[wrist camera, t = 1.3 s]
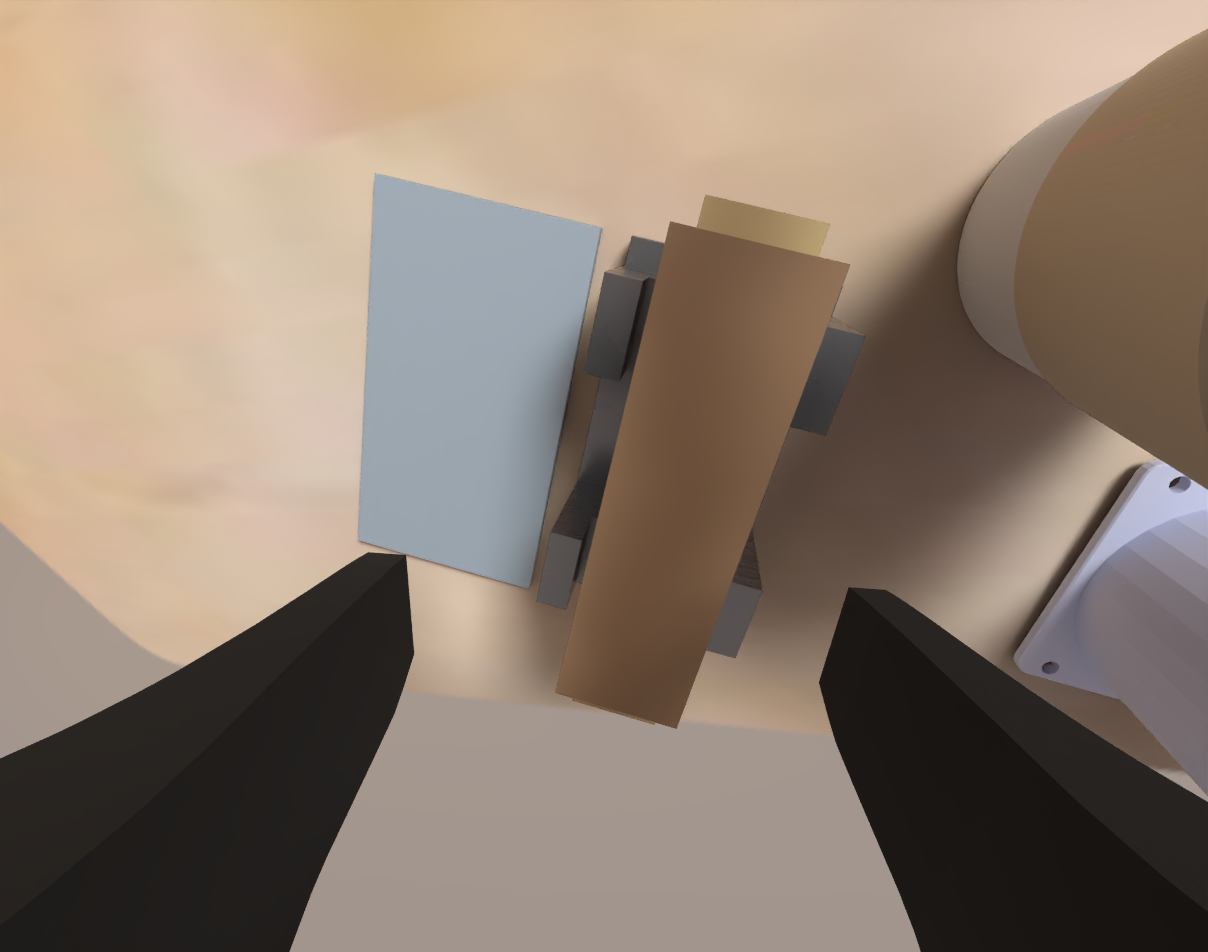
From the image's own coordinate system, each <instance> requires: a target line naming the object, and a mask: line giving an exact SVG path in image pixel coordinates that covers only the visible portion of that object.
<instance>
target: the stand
mask: <svg viewBox="0 0 1208 952" xmlns="http://www.w3.org/2000/svg"><path fill="white" fill-rule="evenodd" d="M664 245H665V243H662V242H658V241H653V240H649V239H645V238H641V237H637V236H632V237H631V242H630V246H629V251H628V256H627V260H626V265H625V266H622V267H618V268H615V269H612V270H609V271H605V272H604V277H603V282H602V287H601V292H600V297H599V301H598V306H597V311H596V316H595V321H594V326H593V330H592V335H591V340H590V345H589V350H588V355H587V359H586V364H585V369H584V373H586V374H590V375H593V376H597V377H601V378H600V383H599V387H598V392H597V396H596V401H595V405H594V410H593V414H592V419H591V423H590V428H589V432H588V437H587V442H586V446H585V451H584V455H583V460H582V464H581V469H580V473H579V478H578V482H577V483H576V485H575V487H574V489H573V491H572V493H571V495H570V497H569V499H568V500H567V502H566V504H565V506H564V508H563V510H562V512H561V514H560V516H559V517H558V519H557V521H556V523H555V525H554V527H553V529H552V531H551V533H550V538H549V543H548V548H547V553H546V557H545V562H544V567H543V572H542V577H541V582H540V586H539V591H538V596H537V602H541V603H544V604H548V605H551V606H555V607H558V608H562V609H565V610H566V607H567V605H568V602H569V599H570V597H571V594H572V592H573V589H574V586H575V584H576V582H579V583H582V581H583V577H584V573H585V569H586V565H587V561H588V557H589V552H590V548H591V544H592V540H593V536H594V532H595V528H596V524H597V520H598V516H599V511H600V507H601V503H602V499H603V495H604V491H605V487H606V483H607V479H608V475H609V470H610V466H611V462H612V458H613V454H614V450H615V446H616V442H617V438H618V434H619V429H620V425H621V421H622V417H623V413H624V409H625V405H626V401H627V397H628V393H629V388H630V384H631V380H632V376H633V372H634V368H635V364H636V360H637V356H638V351H639V347H640V343H641V339H642V335H643V331H644V327H645V323H646V319H647V315H648V310H649V306H650V302H651V298H652V294H653V290H654V286H655V282H656V278H657V274H658V269H659V265H660V261H661V257H662V253H663V249H664ZM841 290H842V288H841ZM840 293H841V291H840ZM839 295H840V294H839ZM838 298H839V296H838ZM837 301H838V299H837ZM836 303H837V302H836ZM835 306H836V304H835ZM834 309H835V307H834ZM833 311H834V310H833ZM832 314H833V312H832ZM865 337H866V336H865V335H863V334H861V333H859V332H858V331H856V330H854V329H853V328H851V327H849V326H848V325H846V324H844V323H843V322H841V321H839V320H838V319H836V318H834V317H833V316H832V315H831V318H830V320H829V323H828V326H827V328H826V331H825V334H824V336H823V339H822V342H821V344H820V347H819V350H818V352H817V355H816V358H815V360H814V363H813V366H812V368H811V371H810V374H809V376H808V379H807V382H806V384H805V387H804V390H803V392H802V395H801V398H800V400H799V403H798V406H797V408H796V411H795V414H794V416H793V419H792V422H791V424H790V427H794V428H798V429H802V430H806V431H810V432H813V433H817V434H821V435H826V433H827V430H828V428H829V426H830V423H831V421H832V418H833V416H834V413H835V411H836V408H837V406H838V403H839V401H840V398H841V396H842V393H843V391H844V388H845V386H846V384H847V381H848V379H849V376H850V374H851V371H852V369H853V366H854V364H855V361H856V359H857V356H858V354H859V351H860V349H861V347H862V344H863V342H864V339H865ZM790 427H789V429H790ZM788 431H789V430H788ZM787 434H788V432H787ZM786 437H787V435H786ZM785 439H786V438H785ZM784 442H785V440H784ZM783 445H784V443H783ZM782 447H783V446H782ZM781 450H782V448H781ZM780 453H781V451H780ZM779 455H780V454H779ZM778 458H779V456H778ZM777 461H778V459H777ZM776 463H777V462H776ZM775 466H776V464H775ZM774 469H775V467H774ZM773 471H774V470H773ZM772 474H773V472H772ZM771 477H772V475H771ZM770 479H771V478H770ZM769 482H770V480H769ZM768 485H769V483H768ZM767 487H768V486H767ZM766 490H767V488H766ZM765 493H766V491H765ZM764 495H765V494H764ZM763 498H764V496H763ZM762 501H763V499H762ZM761 503H762V502H761ZM760 506H761V504H760ZM759 509H760V507H759ZM758 511H759V510H758ZM757 514H758V513H757ZM756 517H757V515H756ZM755 519H756V518H755ZM754 522H755V521H754ZM753 525H754V523H753ZM752 527H753V526H752ZM761 593H762V585H761V579H760V573H759V567H758V561H757V555H756V549H755V543H754V537H753V531H752V529H751V531H750V534H749V537H748V539H747V542H746V545H745V547H744V550H743V553H742V555H741V558H740V561H739V563H738V566H737V569H736V571H735V574H734V577H733V579H732V582H731V585H730V587H729V590H728V593H727V595H726V598H725V601H724V603H723V606H722V609H721V611H720V614H719V617H718V619H717V622H716V625H715V627H714V630H713V633H712V635H711V638H710V641H709V643H708V646H707V649H706V650H708V651H712V652H715V653H719V654H722V655H726V656H729V657H733V658H736V655H737V653H738V650H739V648H740V645H741V643H742V640H743V638H744V635H745V633H746V631H747V628H748V626H749V623H750V621H751V618H752V616H753V613H754V611H755V608H756V606H757V603H758V601H759V598H760V596H761Z"/></svg>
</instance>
